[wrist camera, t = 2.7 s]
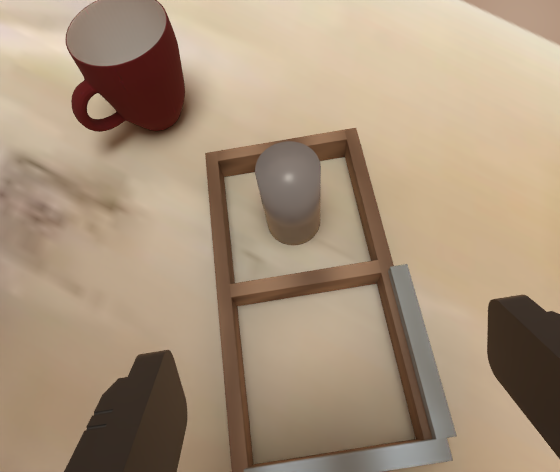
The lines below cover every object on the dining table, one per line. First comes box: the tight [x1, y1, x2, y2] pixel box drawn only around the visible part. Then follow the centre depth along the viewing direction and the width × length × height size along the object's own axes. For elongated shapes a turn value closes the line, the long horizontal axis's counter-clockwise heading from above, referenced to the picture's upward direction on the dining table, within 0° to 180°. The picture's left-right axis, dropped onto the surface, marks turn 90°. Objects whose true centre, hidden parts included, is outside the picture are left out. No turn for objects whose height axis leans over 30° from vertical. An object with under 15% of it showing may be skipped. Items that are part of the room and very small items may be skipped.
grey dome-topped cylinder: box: [255, 141, 321, 245], centre depth 32 cm, size 4×4×8 cm
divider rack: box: [205, 128, 457, 472], centre depth 32 cm, size 14×25×4 cm, turn 8°
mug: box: [66, 0, 185, 132], centre depth 37 cm, size 10×8×10 cm
